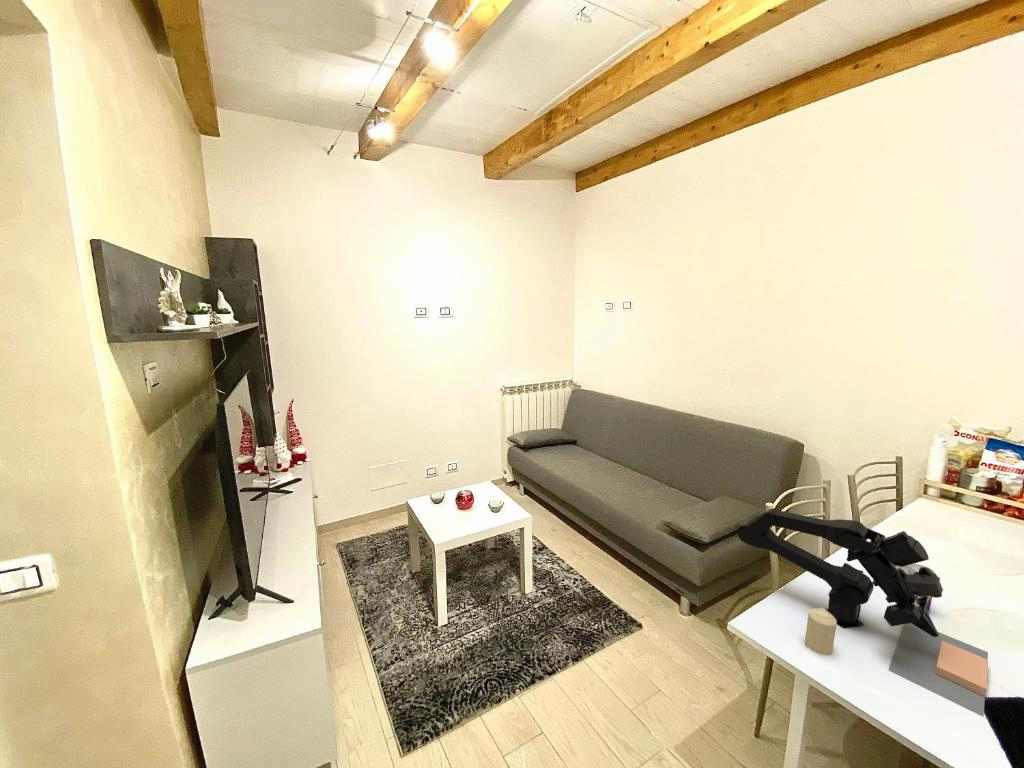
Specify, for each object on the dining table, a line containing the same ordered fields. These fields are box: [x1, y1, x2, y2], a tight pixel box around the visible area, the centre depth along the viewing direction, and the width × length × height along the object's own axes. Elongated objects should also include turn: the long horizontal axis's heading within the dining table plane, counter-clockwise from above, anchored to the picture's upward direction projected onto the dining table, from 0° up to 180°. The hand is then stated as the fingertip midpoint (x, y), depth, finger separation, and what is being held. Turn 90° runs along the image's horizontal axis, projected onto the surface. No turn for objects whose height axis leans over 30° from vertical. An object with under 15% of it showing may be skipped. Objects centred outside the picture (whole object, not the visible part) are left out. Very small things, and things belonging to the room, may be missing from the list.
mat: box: [888, 623, 989, 718], centre depth 98 cm, size 15×24×1 cm, turn 130°
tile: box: [935, 641, 989, 697], centre depth 95 cm, size 2×11×8 cm
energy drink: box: [908, 563, 937, 615], centre depth 113 cm, size 5×5×12 cm
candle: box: [804, 607, 838, 656], centre depth 102 cm, size 6×6×10 cm
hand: (936, 636), depth 97 cm, fingers closed
